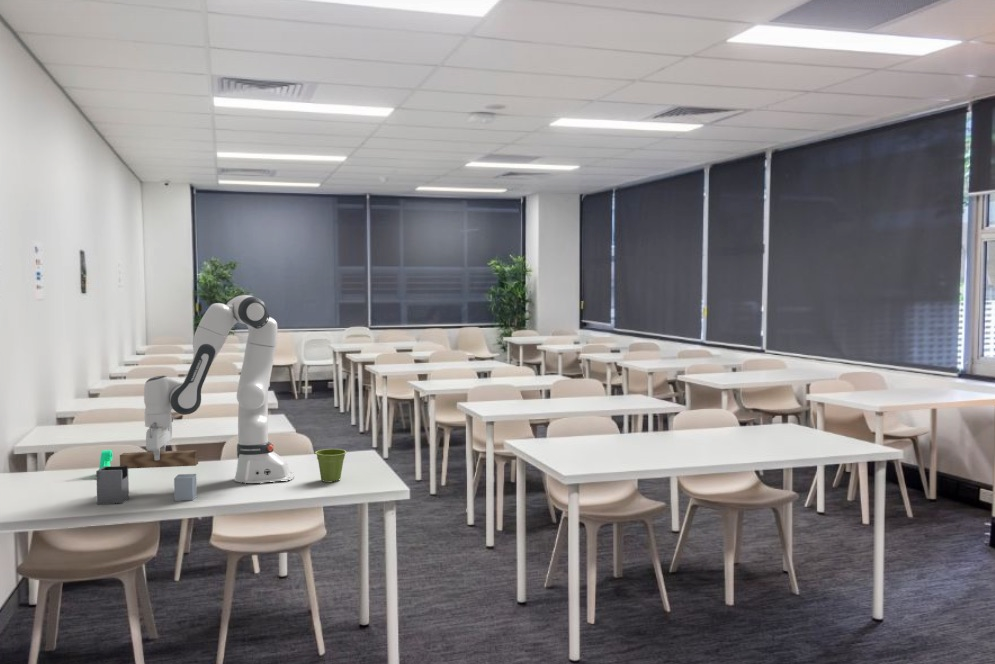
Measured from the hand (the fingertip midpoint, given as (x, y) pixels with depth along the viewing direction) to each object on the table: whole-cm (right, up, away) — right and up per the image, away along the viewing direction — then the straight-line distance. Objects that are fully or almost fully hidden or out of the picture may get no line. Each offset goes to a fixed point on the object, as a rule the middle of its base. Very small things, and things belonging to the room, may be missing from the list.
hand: (159, 458), depth 284 cm
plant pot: (+59, -12, +18) cm, 62 cm away
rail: (0, -3, 0) cm, 3 cm away
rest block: (+13, -13, -10) cm, 21 cm away
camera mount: (-30, -11, +26) cm, 41 cm away
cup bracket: (-10, -13, -13) cm, 21 cm away
